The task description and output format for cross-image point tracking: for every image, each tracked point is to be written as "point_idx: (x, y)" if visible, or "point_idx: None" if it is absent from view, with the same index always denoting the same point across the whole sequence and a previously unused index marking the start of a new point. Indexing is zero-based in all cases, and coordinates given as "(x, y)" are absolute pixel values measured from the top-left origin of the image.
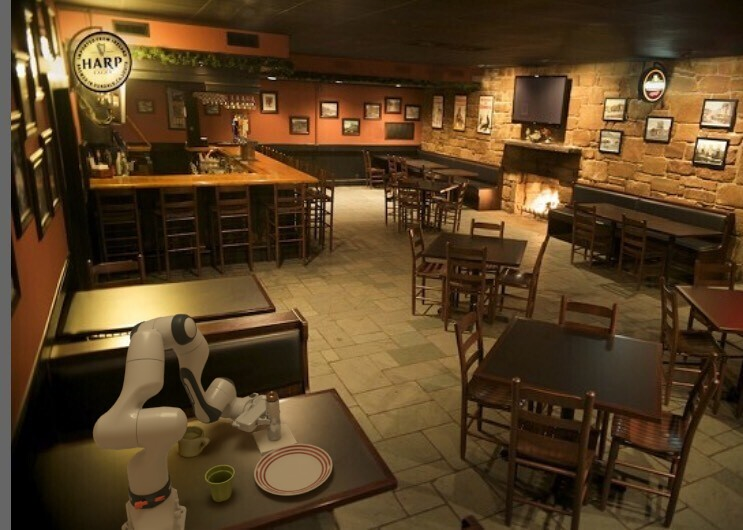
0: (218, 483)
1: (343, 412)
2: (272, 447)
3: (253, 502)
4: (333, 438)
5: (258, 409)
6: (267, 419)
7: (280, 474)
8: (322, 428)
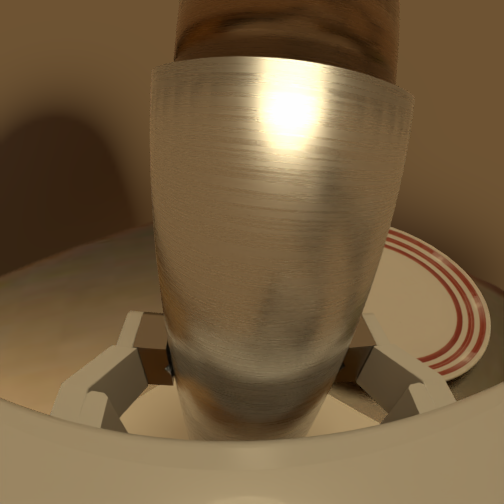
0: None
1: (14, 272)
2: (330, 413)
3: (497, 318)
4: (153, 264)
5: None
6: (373, 331)
7: (410, 313)
8: (94, 301)
